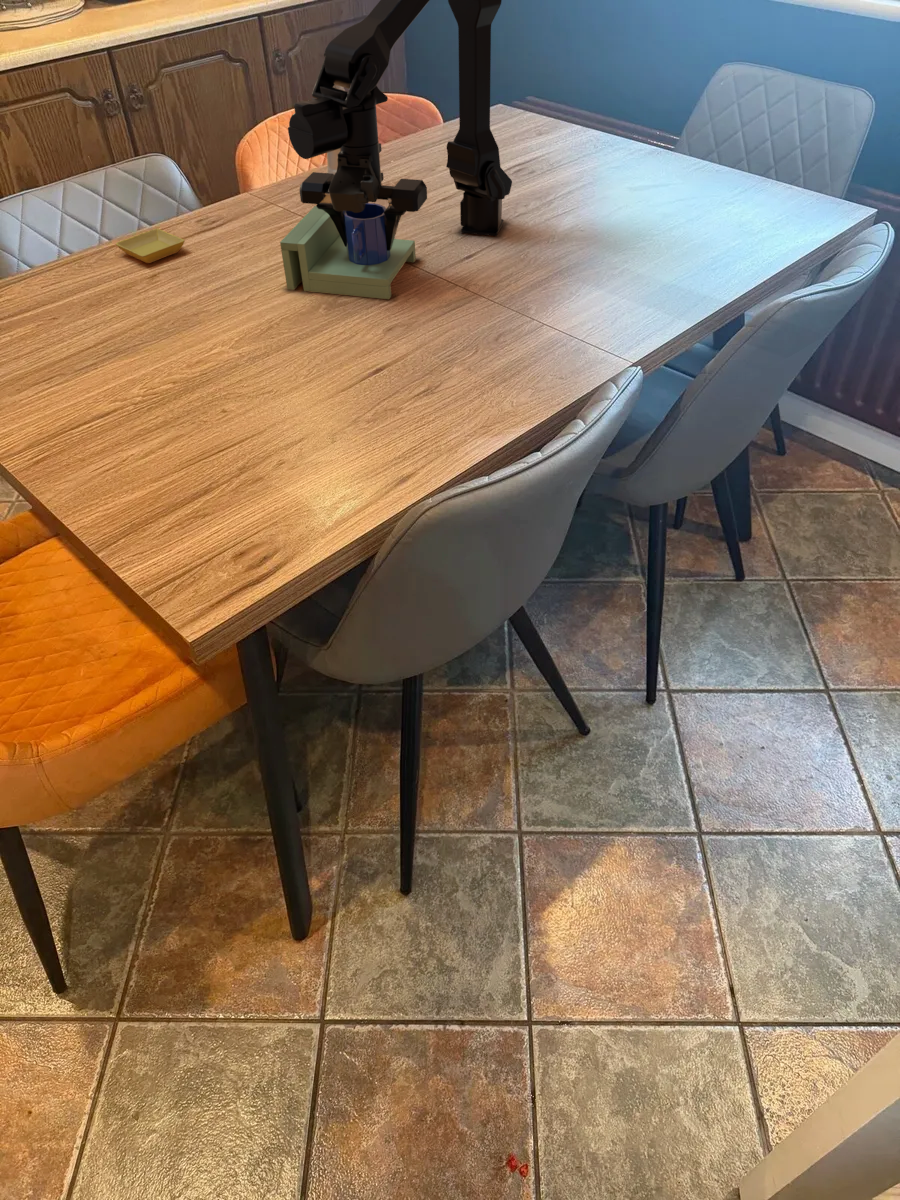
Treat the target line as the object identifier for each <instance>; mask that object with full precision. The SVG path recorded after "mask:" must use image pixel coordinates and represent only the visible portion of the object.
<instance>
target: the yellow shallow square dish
mask: <svg viewBox="0 0 900 1200" xmlns="http://www.w3.org/2000/svg"><path fill="white" fill-rule="evenodd" d="M185 241H186V240H185V239H184V238H182V237H179V236H177V235H175V234H172V233H169V232H167V231H166V230H163V229H161V228H154V229H150V230H148V231H145V232H142V233H138V234H137V235H134V236H132V237H129V238H126V239H122V240H120V241H117V242H116V243H115V246H117V247H118V249H120V250H122V252H124V253H125V254H127V255H128V256H131V257H133V258H135V259H137V260H139V261H142V262H143V263H146V264H151V263H153V262H156V261H158V260H162V259H163V258H166V257H169V256H171V255H174V254H177V253H178V252H179V251H180V250H181V249H182V247H183V246H184V244H185Z"/></svg>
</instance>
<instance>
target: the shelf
mask: <svg viewBox="0 0 900 1200" xmlns="http://www.w3.org/2000/svg"><path fill="white" fill-rule="evenodd" d="M279 244H280V252H281V257H282V263H283V271H284V276H285V282H286V289H287V290H292V291H295V290H296V289H297V287H298V286H299V285H300V284H301V283H302V287H303V291H304V292H312V293H323V294H332V295H340V296H341V295H342V296H351V297H361V298H370V299H371V298H373V299H380V300H390V299H391V297H392V287H391V284H392V282H393V281H394V280H395V278H396V276H397V275H398V274H399V272H400V270H401V269H402V268H403V266H404V264H405V263H415V262H416V259H417V258H416V257H417V255H416V241H415V240H414V239H401V238H394V241H393V245H392V248H391V250H390V257H389V259H388V260H387V261H384V262H382V263H380V264H374V265H358V264H355V263H353V262H350V261H349V259H348V257H347V247H345V245H344V243H343V241H342V239H341V237H340V235H339V232H338V230H337V228H336V226H335V224H334V222H333V221H332V219H331V217H330V216H329V214H328V213H326V212H325V211H324V210H322V209H318V208H317V206H316V205H314V206H313V207H312V208H311V209H310V210H309V211H308V212H307V214H305V216H303V218H302V219H301V220H300V221H299V222H298V223H297V224H296V225H295V226H294V227H293V228H292V229H291V230H290V231H289V232H288V233H287V234H286V235H285V236H284V237H283V238H282V239H281V240H280V242H279Z"/></svg>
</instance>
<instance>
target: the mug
mask: <svg viewBox="0 0 900 1200" xmlns="http://www.w3.org/2000/svg"><path fill="white" fill-rule="evenodd" d="M386 209H387V207H386V206H384V205H381V204H378V203H375V202H368V204H367V203H366V204H365V208H364V210H363V211H362V212H359V213H354V212H352V211H343V219H344V228H345V238H346V247H347V257H348V259H349V261H350V262H353V263H355V264H358V265H374V264H380V263H382V262H384V261H387V260H388V259H389V257H390V251H388V250H387V244H386V217H385V215H384V211H385V210H386Z"/></svg>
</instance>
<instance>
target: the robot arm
mask: <svg viewBox="0 0 900 1200" xmlns="http://www.w3.org/2000/svg"><path fill="white" fill-rule="evenodd" d="M430 1H431V0H379V1H378V2H377V4H376V5H375V6H374V8H372V10H370V12H369V13H368V14H367V15H366V17H365V18H363V19H362V20H361V21H359V22H357V23H355V24H353V25H351V26H348V27H347V28H345V29H343V30H342V31H340V33H339V34H337V35H336V36H335V37H334V38H332V40H330V42H328V44H327V46H326V48H324V49H325V50H324V53H323V56H324V59H323V62H322V65H321V68H320V71H319V73H318V76H317V79H316V82H315V85H314V87H313V90H312V93H311V97H312V98H313V99H311V100H307V101H304V100H302V101H297V102H295V103H293V107H294V108H293V109H294V113H293V114H292V115H291V116H290V118H289V122H288V127H287V133H288V137H289V141H290V144H291V146H292V148H293V150H294V151H295V152H296V154H297V155H298V156H299V157H300V158H301V159H303V160H309V159H312V158H315V157H318V156H321V155H324V154H325V155H326V154H327V153H328V152H331V151H334V150H337V149H339V148H340V152H339V153H338V159H337V160H338V167H337V172H336V173H335V175H334V174H331V173H327V172H318V171H317V172H316V171H313V172H311V173H310V174H309V176H307V177H306V178H305V179H304V180H303V181H302V182H301V183H300V184H299V190H298V191H299V197H300V198H299V199H300V202H301V203H302V204H309V205H310V204H311V205H315V206H317V208H318V209H322V210H324V211H325V212H326V213H328V214H329V216H330V217H331V219H332V221H333V222H334V224H335V226H336V228H337V230H338V232H339V235H340V237H341V239H342V241H343V243H344V245H345V247H346V238H345V228H344V219H343V211H352V212H354V213H359V212H362V211H363V210H364V208H365V204H366V203H367V204H368V203H376V202H377V200H385V201H387V204H388V206H387V207H386V210H385V211H384V215H385V217H386V244H387V250H388V251H390V250H391V248H392V245H393V241H394V239H396V238H395V237H396V234H397V232H398V231H397V230H398V228H399V223H400V221H401V218H402V216H404V215H405V214H406V212H409V213H414V212H418V211H420V209H421V208H422V206H423V205H424V204H425V202H426V201H427V200H428V190H427V189H428V187H427V184H426V183H425V182H424V180H422V179H413V178H400V179H399V180H398V181H397V183H396V184H395V185H383V184H382V182H383V181H384V180H385V179H384V172H382V171H381V169H382V168H381V155H380V153H382V143H379V131H378V116H377V105H380V104H383V103H386V102H388V100H389V98H388V96H387V95H386V94H385V93H384V92H383V91H381V90H380V88H379V87H378V84H379V82H380V80H381V79H382V77H383V75H384V74H385V72H386V70H387V68H388V67H389V64H390V58H391V51H392V49H393V48H394V46H395V44H396V43H397V42H398V41H399V39H400V38H402V36H403V35H404V33H405V32H406V31H407V30H408V28H409V27H410V26H411V25H412V23H413V22H414V21H415V20H416V18H417V17H418V16H419V15H420V13H421V12H422V11H423V10H424V8H425V7H426V6H427V5H428V4H429V3H430ZM502 1H503V0H447V3H448V5H449V8H450V10H451V13H452V14H453V17H454V18H455V21H456V24H457V31H458V34H457V35H458V99H459V100H458V107H459V109H458V112H459V114H458V115H459V116H458V117H459V120H458V121H459V122H458V123H459V127H458V131H457V133H456V135H455V137H454V139H453V140H450V141H447V143H446V152H447V162H446V166H445V167H446V168H447V169H448V170H449V175H450V177H451V178H452V179H453V183H454V186H455V190H458V191H463V193H462V197H463V198H462V199H461V201H460V203H459V209H460V213H459V215H460V217H459V220H460V226H461V228H460V233H461V234H468V235H478V236H479V235H480V236H490V237H497V236H498V235H499V232H500V231H501V228H502V227H503V225H504V223H505V220H504V219H503V218H502V215H503V200H504V199H505V197H507V196H509V195H510V194H511V190H512V186H513V180H512V179H511V178H510V177H509V176H508V174H507V173H506V172H505V171H504V169H502V167H501V159H500V147H499V146H498V143H497V141H496V139H495V137H494V135H493V132H492V130H491V71H492V70H491V68H492V67H491V66H492V65H491V63H492V62H491V60H492V59H491V57H492V56H491V55H492V54H491V53H492V25H493V24H492V23H493V22H494V20H495V17H496V15H497V13H498V11H499V9H500V8H501V5H502ZM334 85H338V86H341V87H344V89H348V91H346V90H345V91H343V90H340V89H336V88H333V86H334Z"/></svg>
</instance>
